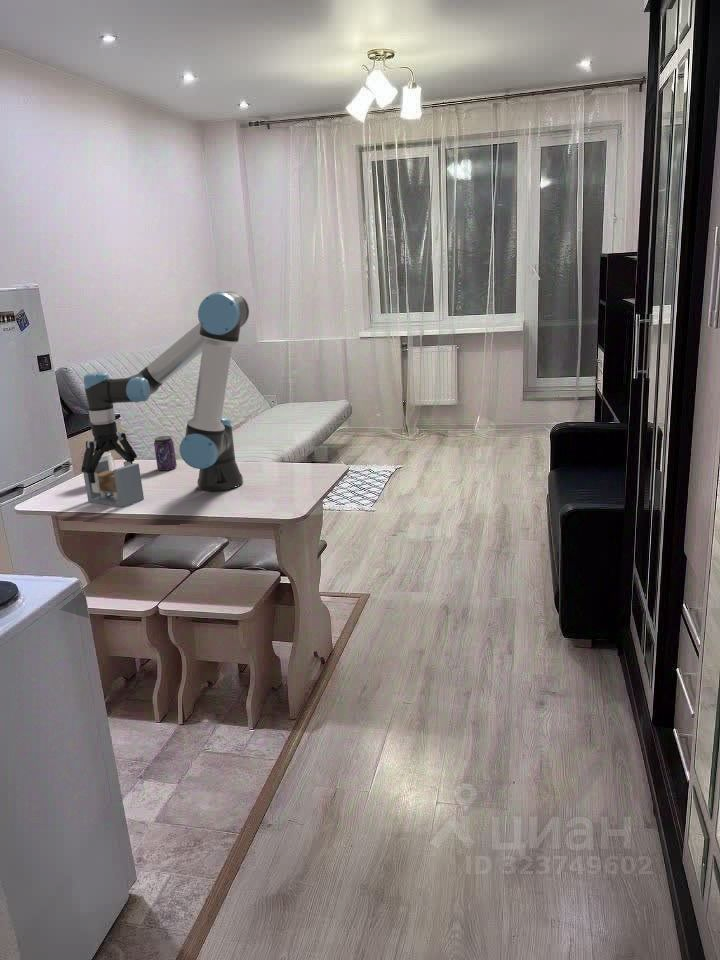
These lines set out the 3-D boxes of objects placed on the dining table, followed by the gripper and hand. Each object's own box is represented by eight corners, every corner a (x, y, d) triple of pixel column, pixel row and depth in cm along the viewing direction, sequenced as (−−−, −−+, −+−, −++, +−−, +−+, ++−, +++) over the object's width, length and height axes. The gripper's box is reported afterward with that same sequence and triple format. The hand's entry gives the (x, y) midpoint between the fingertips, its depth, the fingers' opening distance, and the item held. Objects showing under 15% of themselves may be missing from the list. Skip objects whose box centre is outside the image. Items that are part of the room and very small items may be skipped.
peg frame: (144, 499, 233) (138, 463, 229) (123, 507, 226) (117, 470, 223) (109, 493, 242) (103, 459, 238) (88, 501, 235) (82, 465, 231)
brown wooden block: (95, 490, 232) (92, 475, 231) (108, 485, 237) (106, 470, 236) (118, 492, 228) (115, 477, 227) (131, 487, 233) (129, 472, 232)
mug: (126, 478, 260) (122, 449, 257) (104, 487, 250) (99, 458, 247) (107, 477, 263) (103, 449, 260) (84, 486, 253) (79, 457, 250)
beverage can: (153, 470, 268) (149, 439, 265) (165, 465, 275) (161, 435, 271) (169, 471, 266) (165, 440, 262) (180, 466, 272) (176, 435, 269)
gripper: (126, 414, 239) (135, 475, 244) (61, 429, 218) (73, 496, 224) (141, 415, 235) (151, 477, 241) (77, 431, 214) (89, 498, 220)
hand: (113, 486), depth 232 cm, fingers open, 13 cm apart
